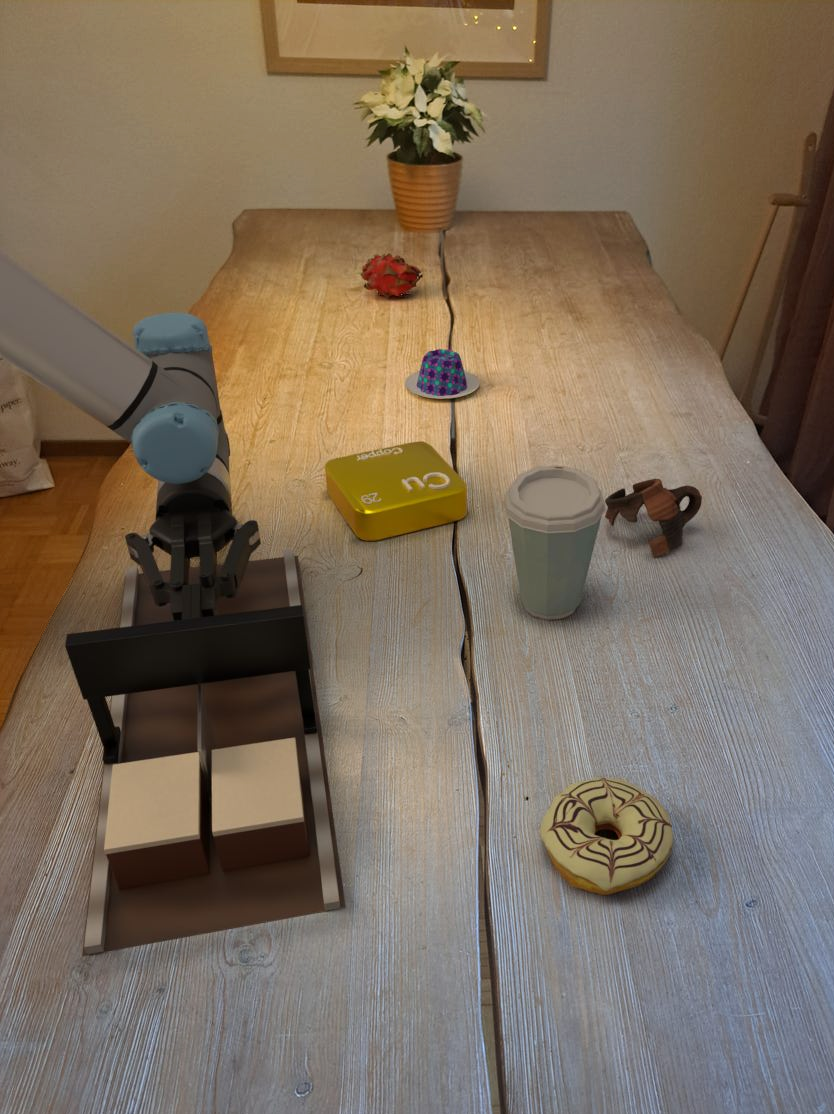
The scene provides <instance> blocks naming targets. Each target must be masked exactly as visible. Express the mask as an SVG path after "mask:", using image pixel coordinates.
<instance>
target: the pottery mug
mask: <svg viewBox="0 0 834 1114" xmlns="http://www.w3.org/2000/svg"><path fill="white" fill-rule="evenodd" d="M632 490H633V492H630V493H629V494H627V495H626V493H627V492H626V488H624V487H622V488H621V489H619V490H617V491H615V492H613V493H611V494H610V495H608V496H607V497H606V499H604V502H605V504H606V505H605V506H606V507H607V509H606V510H605V516H604V517H605V518H606V519H607V520H608V522H609V525H610V527H611V526H612V527H614V526H615V521H616V519H617V517H618V515H620V516H621V517H622V518H623V519H625V520H626V522H628V523H634V524H635V523H637V522H638V514H639V512H640V510H641V508H642V507H643V505H644V507H645V510H646V513H647V516H648V518H650V520H651V521H653V522H658V524H659V526H660V529H661V530H662V534H661V535H659V536H658V537H656V538H654V539H651V540H649V542H648V544H649V547H650V549H651V554H652V557H653V558H657V557H661V556H664V555H666V554H668V553H670V552H672V551H674V550H677V549H678V548H680V547H681V545H683V535H684V528H685V526H686V524H687V523H688V522H690V521H691V520H693V518H694V517H695V516H697V514H698V513H699V512H700V509H701V508H702V507H701V506H702V500H703V496H702V495H701V492H700V490H699V489H698V488H697V487H695V486H692V485H682V486H679V487H677V488H673V489H669V488H667V487H664V486H663V481H662V479H661V478H651V479H646V480H643V481H639V482H636V483H634V484H632ZM686 497H688V504H687V506H686V508H684V509H682V510H681V503H682V502H683V500H684V499H685V498H686Z"/></svg>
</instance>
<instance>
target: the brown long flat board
mask: <svg viewBox="0 0 834 1114" xmlns="http://www.w3.org/2000/svg"><path fill="white" fill-rule="evenodd" d="M282 553H283V556H280V557H272V558H263V559H255V560H254V559H253V560H249V562H248V565H247V567H246V570H245V573H244V576H243V579H242V582H241V585H240V588H239V590H238V593H237V595H236V596H235V597H233V598H226V597H225V596H223V597H220V598H219V599H218V601H217V615H224V614H232V613H240V612H248V611H256V610H264V609H273V608H281V607H289V606H297V605H302V606H303V613H304V621H305V628H306V635H307V643H308V650H309V657H310V665H311V669H309V674H310V681H311V688H312V695H313V702H314V709H315V717H316V725H317V733H311V734H304V728H303V720H302V713H301V706H300V700H299V693H298V686H297V680H296V673H295V671H291V672H284V673H276V674H269V675H262V676H255V677H247V678H240V679H233V680H225V681H218V682H211V683H203V684H201V685H202V689H203V693H204V697H205V701H206V706H207V710H208V714H209V718H210V722H211V727H212V731H213V735H214V739H215V743H216V749H221V748H228V747H235V746H241V745H248V744H255V743H261V742H268V741H275V740H282V739H288V738H295V740H296V746H297V752H298V758H299V765H300V771H301V777H302V786H303V796H304V805H305V814H306V824H307V833H308V842H309V852H310V856H309V857H304V858H298V859H292V860H286V861H280V862H275V863H269V864H263V865H257V866H251V867H246V868H240V869H234V870H228V871H223V870H222V867H221V863H220V859H219V856H218V852H217V848H216V844H215V840H214V836H213V833H212V804H211V801H210V797H209V814H210V874H206V875H200V876H194V877H188V878H183V879H177V880H171V881H165V882H159V883H154V884H148V885H142V886H136V887H130V888H124V889H119V887H118V885H117V882H116V880H115V877H114V874H113V872H112V869H111V867H110V864H109V861H108V859H107V856H106V853H105V851H104V845H105V835H106V825H107V816H108V806H109V796H110V787H111V777H112V767H113V765H114V764H121V763H127V762H134V761H141V760H148V759H154V758H161V757H168V756H174V755H181V754H188V753H195V752H198V750H197V744H198V685H200V684H196V685H189V686H181V687H174V688H167V689H159V690H152V691H145V692H137V693H130V694H123V695H115V696H110V704H109V705H110V706H109V710H110V713H111V716H112V719H113V723H114V726H115V727H117V726H119V727H120V730H121V735H120V745H119V755H118V762H115V763H108V764H104V763H103V765H102V774H101V776H102V777H101V784H100V793H99V804H98V812H97V818H96V827H95V828H96V829H95V837H94V845H93V846H94V847H93V855H92V857H93V858H92V863H91V864H92V865H91V872H90V882H89V891H88V898H87V907H86V908H87V909H86V915H85V926H84V934H83V943H82V952H81V953H82V954H81V957H86V956H91V955H96V954H103V953H108V952H114V951H120V950H123V949H129V948H135V947H141V946H147V945H151V944H156V943H162V942H168V941H172V940H173V941H174V940H178V939H183V938H189V937H195V936H201V935H206V934H210V933H212V934H213V933H216V932H223V931H228V930H234V929H239V928H244V927H249V926H255V925H260V924H266V923H271V922H278V921H282V920H287V919H292V918H298V917H304V916H310V915H315V914H321V913H326V912H327V913H328V912H333V911H337V910H341V909H346V899H345V893H344V892H345V891H344V885H343V879H342V878H343V877H342V871H341V863H340V856H339V847H338V842H337V834H336V833H337V832H336V827H335V819H334V812H333V804H332V797H331V789H330V781H329V775H328V768H327V767H328V766H327V759H326V751H325V746H324V739H323V731H322V723H321V716H320V708H319V702H318V694H317V687H316V680H315V673H314V664H313V655H312V650H311V642H310V634H309V626H308V620H307V613H306V606H305V599H304V590H303V582H302V576H301V568H300V562H299V561H300V560H299V556H298V555H295V550H294V548H288V549H287V548H286V549H283V550H282ZM223 564H224V563H222V564H221V563H220V564H219V563H218V564H217V565H216V566H217V577H219V576H220V572H221V570H222V567H223ZM138 567H139V566H129V567H126V569H125V570H126V571H125V575H124V582H123V591H122V597H121V598H122V600H121V608H120V615H119V627H118V628H120V627H128V626H136V625H144V624H152V623H160V622H168V621H173V620H172V616H171V612H170V603H167V604H166V605H164V606H156V605H155V603H154V600H153V597H152V595H151V592H150V590H149V587H148V584H147V582H146V579H145V576H144V574H143V572H141V573H140V571H139V568H138ZM159 571H160V574H161V576H162V578H163V582H166V583H170V569H168V570H159ZM199 574H200V566H194V567H190V568H189V585H190V584H198V583H200V579H199ZM200 585H201V584H200Z"/></svg>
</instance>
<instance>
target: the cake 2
mask: <svg viewBox="0 0 834 1114" xmlns="http://www.w3.org/2000/svg"><path fill="white" fill-rule="evenodd" d="M212 833H213V836H214V840H215V844H216V848H217V852H218V856H219V859H220V863H221V867H222V870H223V871H228V870H234V869H240V868H246V867H251V866H257V865H263V864H269V863H275V862H280V861H286V860H292V859H298V858H304V857H309V856H310V852H309V842H308V833H307V824H306V814H305V805H304V796H303V786H302V777H301V771H300V765H299V758H298V752H297V746H296V740H295V738H288V739H282V740H275V741H268V742H261V743H255V744H248V745H241V746H235V747H228V748H221V749H214V750H212Z"/></svg>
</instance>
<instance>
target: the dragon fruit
mask: <svg viewBox="0 0 834 1114" xmlns="http://www.w3.org/2000/svg"><path fill="white" fill-rule="evenodd" d="M421 273H422V271H421V270H420V269H419V267H417V266H415V265H409V264H408V263H406V261H405V258H403V257H401V255H398V254H397V255H396V256H393V255H392V254H391V253H389V252H388V253H387V254H385V253H383V254H381V255H379V254H377V253H376V254H373V257H371V258H368V259H367V262H366V263H365V264H364V265H362V272H361V273H360V276H361V279H363V280H364V281H366V282H365V283H364V285H363V288H364V289H365V290H368V291H373V290H375V291H376V293H377V291H378V293H377V296H378V297H382V296H383V295H384V296H385V297H384V296H383V297H384V298H385V299H389V298H390V296H392V295H395V296H394V297H400V298H402V299H403V298H407V297H410V296H411V295H412V293H411V294H406V293H405V292H407V291H408V292H409V291H411V290H412V289H413V288H417V284H418V282H419V281H420V280H421V279H423V274H421ZM379 294H380V295H379ZM401 294H402V295H401ZM388 297H389V298H388Z"/></svg>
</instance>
